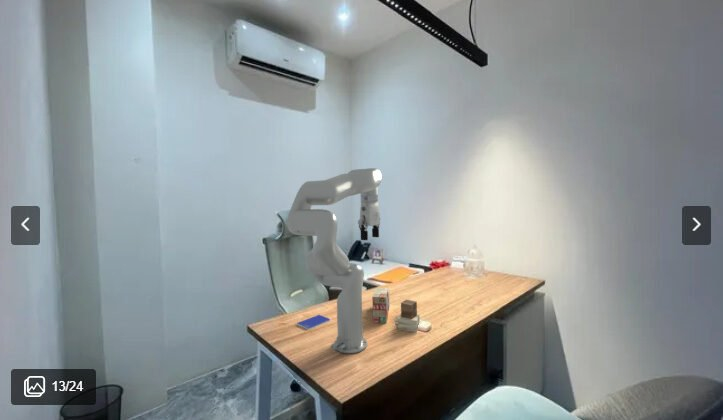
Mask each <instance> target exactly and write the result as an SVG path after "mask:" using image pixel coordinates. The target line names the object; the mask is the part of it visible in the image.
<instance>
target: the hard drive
mask: <svg viewBox="0 0 723 420" xmlns="http://www.w3.org/2000/svg"><path fill="white" fill-rule="evenodd" d="M330 321H331V319H330V318H329V317H326V316H323V315H321V314H318V315H314V316H311V317H309V318H307V319H304V320H301V321H299V322H297V323H296V325H297V326H299V327H301V328H303V329H305V330H307V331H310V330H312V329H314V328H316V327H319V326H323V325H324V324H326V323H328V322H330Z"/></svg>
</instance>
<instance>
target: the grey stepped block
mask: <svg viewBox="0 0 723 420" xmlns="http://www.w3.org/2000/svg"><path fill="white" fill-rule="evenodd" d="M420 316H421V315H420V313H418V312H417V316H415V317H414V318H413V319H409V318H405V317H401V313H399V315H398V317H397V330H398V331H406V332H412V333H413V332H414V333H418V331H419V328H418V325H419V323H420V324H421V321H420V320H421V318H420ZM419 326H420V325H419Z"/></svg>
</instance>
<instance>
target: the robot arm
mask: <svg viewBox="0 0 723 420" xmlns="http://www.w3.org/2000/svg"><path fill="white" fill-rule="evenodd" d="M382 177H383V176H382V173H381V171H380V170H379V169H378V168H374V167H373V168H372V167H371V168H370V167H369V168H368V167H367V168H360V169H359V168H357V169H352V170H349V171H348V172H347V173H342V174H341V173H340V174H339V175H336V176H333V177H330V178H327V179H323V180H310V181H309V180H307V181H305V182H304V183H303V184H302V185H300V188H299V190H297V193H296V195H295V197H294V200H293V202H292V204H291V207H290V210H289V212H288V214H287V219H286V225H287V229H288V230H289V232H290V233H291V234H293V235H296V236H312V237H313V236H314V237H316V241H315V242H314V243H313V246H312V249H311V250H309V251H308V252H307V254H306V256H305V261H304V263H305V267H306V270H307V272H308V273H309V275H311V277H313V278H314V279H315V280H316V281H318V283H320V284H321V285H324V286H326V287H331V288H332V287H333V288H338V289H341V292H340V293H339V294H338V296H337V298H336V317H337V318H336V320H337V321H336V322H337V323H336V325H337V336H336V339H335V340H334V341H333V344H332V345H330V350H332V351H337V352H339V353H342V354H356V353H359V352H362V351H364V350H365V349H366V347H367V346H368V341H367V339H366V338H365V337H364V336H363V333H364V332H363V299H362V298H363V284H364V277H365V272H364V269H363V267H362V266H361V265H359V264H357V263H353V262H350V259H349V257H348V256H347V255H346V253H345V252H344V251H343V250H342V248H341V247H340V246H339V245H338V243H337V234H338V219H337V217H336V215H335V213H334V212H332V211H331V210H328V209H323V208H322V209H321V208H320V209H319V208H314V209H311V208H312V206H330V205H332V206H333V205H334V204H337V203H338V202H341V201H342V200H344V199H346V198H348V197H351V196H356V195H359V194H360V206H359V207H360V209H359V220H357V224H358V228H359V231H360V240H361V241H368V240H369V236H368V235H369V234H368V233H369V231H368V230H367V229H368V228H369V227H372V228H371V235H372V238H379V237H380V224H381V215H380V214H381V212H380V205H379V198H378V197H379V193H378V192H379V190H378V187H379V186H380V185H381V183H382Z"/></svg>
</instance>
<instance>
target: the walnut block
mask: <svg viewBox="0 0 723 420" xmlns="http://www.w3.org/2000/svg"><path fill="white" fill-rule="evenodd" d="M417 302H418V301H415V300H410V299H405V300H403V301H402V302H400V314H401V317H405V318H409V319H413V318H414V317H415V316H417V313H418V303H417Z"/></svg>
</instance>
